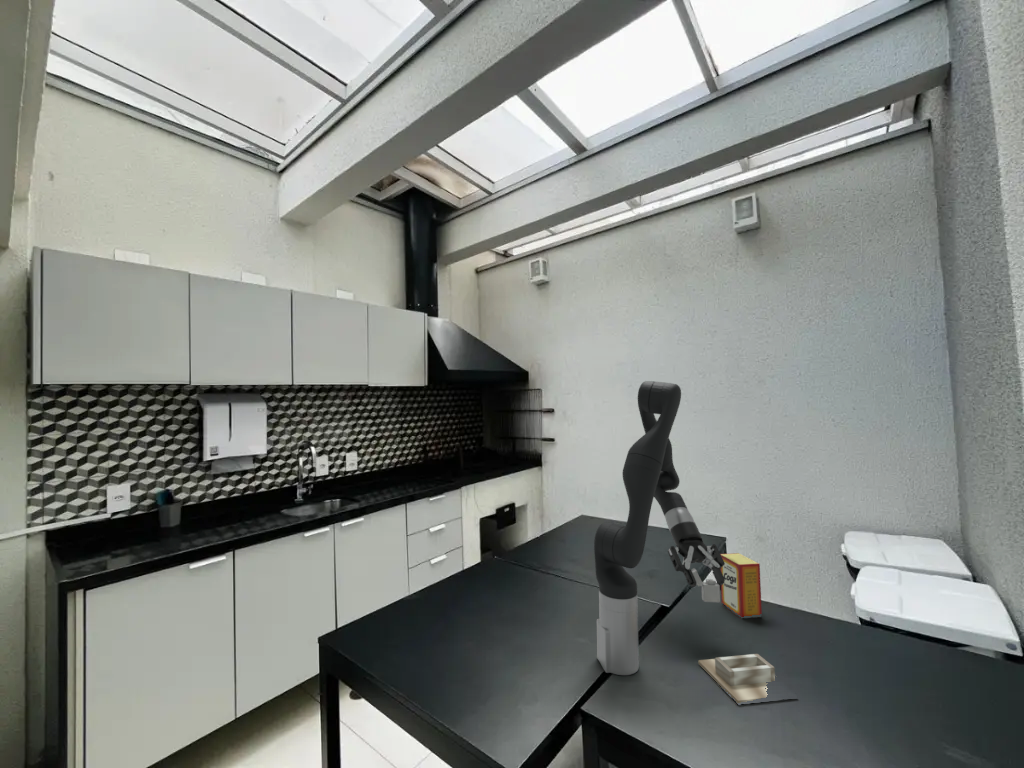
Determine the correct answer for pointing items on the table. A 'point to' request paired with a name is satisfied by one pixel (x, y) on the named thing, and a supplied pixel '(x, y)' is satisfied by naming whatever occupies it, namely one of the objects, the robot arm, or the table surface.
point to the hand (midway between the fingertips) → (708, 584)
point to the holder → (741, 675)
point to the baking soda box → (741, 585)
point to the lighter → (708, 588)
